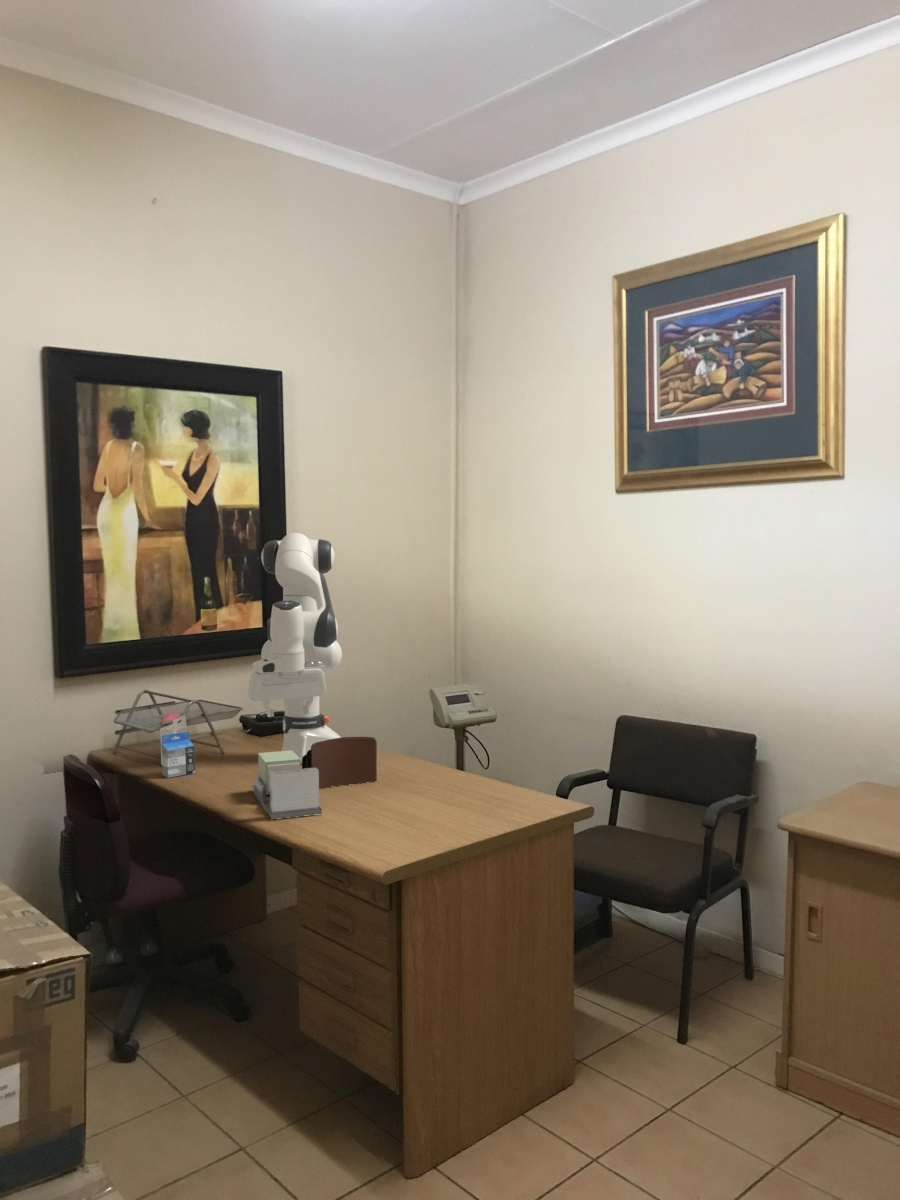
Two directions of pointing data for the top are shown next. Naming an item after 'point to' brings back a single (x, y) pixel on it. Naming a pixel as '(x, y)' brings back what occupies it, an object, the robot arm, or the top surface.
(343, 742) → the letter holder
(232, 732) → the top surface
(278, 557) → the robot arm
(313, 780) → the tray
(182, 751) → the label tape box
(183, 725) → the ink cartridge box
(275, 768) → the pale green block
